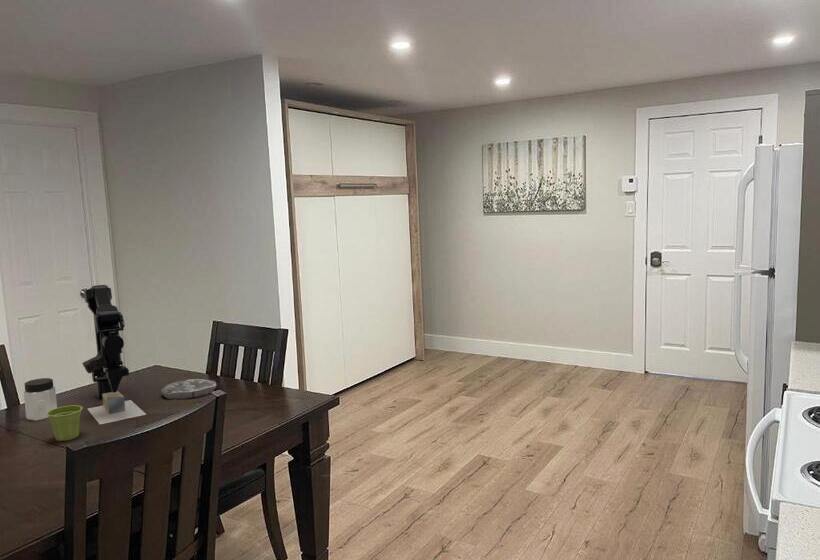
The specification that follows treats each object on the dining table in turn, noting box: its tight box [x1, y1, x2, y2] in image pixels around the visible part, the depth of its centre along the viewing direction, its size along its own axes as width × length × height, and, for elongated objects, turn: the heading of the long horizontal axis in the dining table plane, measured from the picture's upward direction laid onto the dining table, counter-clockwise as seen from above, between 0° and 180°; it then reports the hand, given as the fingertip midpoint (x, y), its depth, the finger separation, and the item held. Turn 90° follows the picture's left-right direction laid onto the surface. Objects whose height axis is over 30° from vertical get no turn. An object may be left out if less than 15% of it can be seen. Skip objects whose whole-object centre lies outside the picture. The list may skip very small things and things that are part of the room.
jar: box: [23, 377, 58, 422], centre depth 202 cm, size 9×8×12 cm
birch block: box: [102, 390, 125, 414], centre depth 207 cm, size 5×5×8 cm
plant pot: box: [46, 405, 83, 442], centre depth 183 cm, size 9×9×9 cm
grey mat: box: [87, 399, 147, 425], centre depth 205 cm, size 20×14×1 cm
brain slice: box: [159, 378, 217, 400], centre depth 226 cm, size 20×17×3 cm
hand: (114, 392), depth 205 cm, fingers closed
